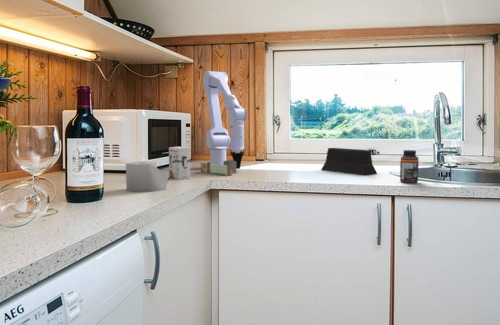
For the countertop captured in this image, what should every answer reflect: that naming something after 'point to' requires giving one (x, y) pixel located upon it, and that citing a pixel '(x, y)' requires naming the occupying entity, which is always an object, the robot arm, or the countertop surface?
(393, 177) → the countertop surface
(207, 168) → the tan small pieces
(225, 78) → the robot arm
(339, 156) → the black broom head
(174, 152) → the ink box
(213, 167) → the pale green bar
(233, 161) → the grey faceted block
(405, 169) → the supplement bottle
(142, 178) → the grey sloped wedge
